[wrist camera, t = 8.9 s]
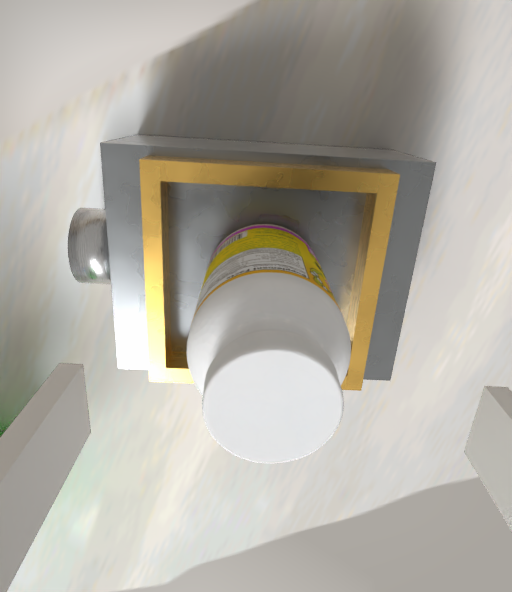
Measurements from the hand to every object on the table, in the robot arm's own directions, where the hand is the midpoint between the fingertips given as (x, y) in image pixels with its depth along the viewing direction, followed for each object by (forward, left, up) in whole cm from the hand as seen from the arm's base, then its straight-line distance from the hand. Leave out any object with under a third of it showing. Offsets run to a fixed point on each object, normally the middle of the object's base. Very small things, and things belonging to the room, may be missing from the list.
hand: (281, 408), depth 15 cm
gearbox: (+2, 0, -21) cm, 21 cm away
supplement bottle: (0, 0, -13) cm, 13 cm away
